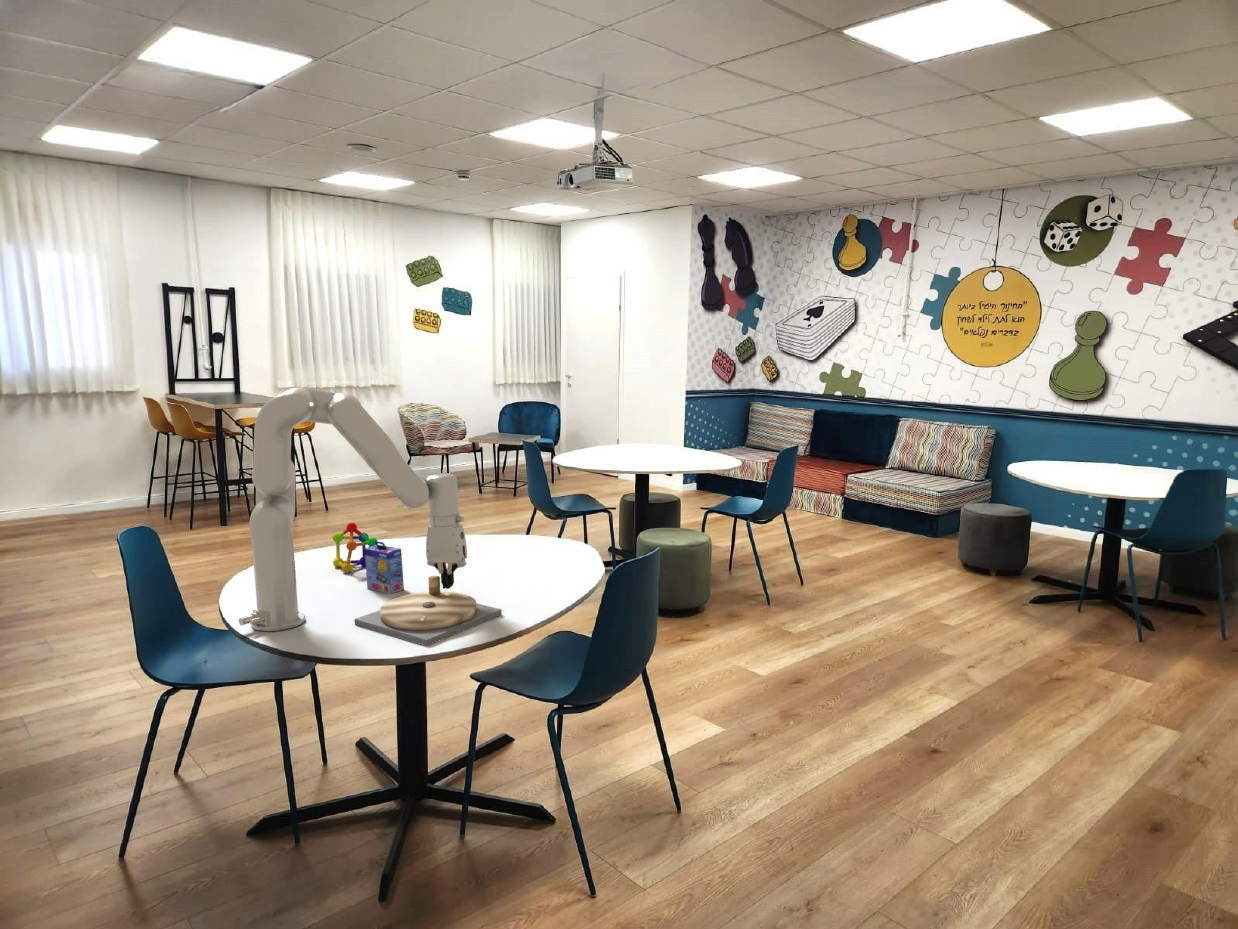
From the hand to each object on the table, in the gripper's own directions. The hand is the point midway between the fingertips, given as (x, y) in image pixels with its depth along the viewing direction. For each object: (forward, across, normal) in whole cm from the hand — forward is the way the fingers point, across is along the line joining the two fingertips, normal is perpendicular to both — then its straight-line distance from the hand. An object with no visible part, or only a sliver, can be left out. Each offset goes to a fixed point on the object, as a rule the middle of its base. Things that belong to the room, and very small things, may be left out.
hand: (447, 587), depth 218 cm
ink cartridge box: (+6, +24, -11) cm, 27 cm away
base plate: (+5, +1, +10) cm, 12 cm away
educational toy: (+5, +45, -30) cm, 54 cm away
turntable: (+4, +1, +10) cm, 11 cm away
